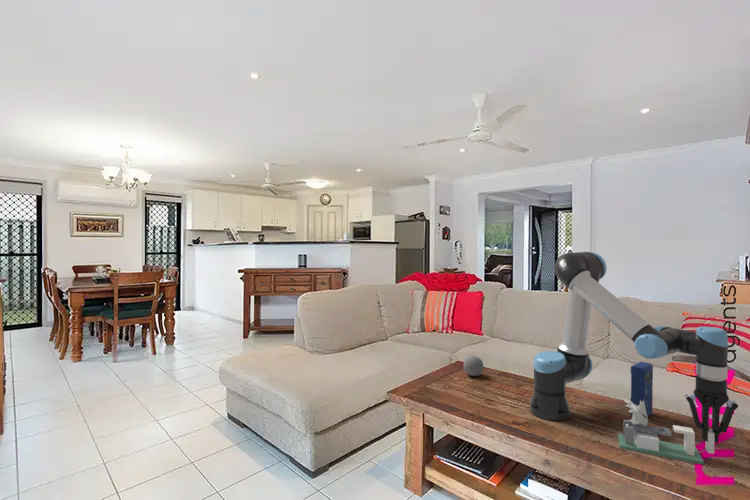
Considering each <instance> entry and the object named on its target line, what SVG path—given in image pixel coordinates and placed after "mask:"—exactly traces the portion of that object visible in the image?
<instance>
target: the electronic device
mask: <svg viewBox="0 0 750 500" xmlns="http://www.w3.org/2000/svg"><path fill="white" fill-rule="evenodd" d="M653 370H654V365H653V364H652V363H650V362H646V361H639V362H637V363H634V364H633V365H631V366H630V398H629V400H631V401H632V402H633V404H636V406H637V405H639V406H640V400H641V402H643V400H644V404H645V408H646V413H647V417H649V416H651V415H652V413H653V389H654V388H653V386H654V385H653V384H654V383H653V381H654V380H653V378H654V377H653V375H654V371H653ZM629 414H630V416H631V417H632V416H633V413H630V412H629ZM641 414H642V413H641ZM642 415H643V416H644V417H645V418H646V416H645V415H644V414H642ZM646 419H647V418H646Z"/></svg>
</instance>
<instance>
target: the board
mask: <svg viewBox="0 0 750 500" xmlns="http://www.w3.org/2000/svg"><path fill="white" fill-rule="evenodd" d="M629 420H630V419H623V429H622V430H623V433H619V432H618V433H617V439H618V443H619V444H618V445H619V448H620V449H623V450H629V451H633V452H638V453H643V454H648V455H653V456H658V457H663V458H668V459H674V460H678V461H683V462H689V463H693V464H697V465H698V464H699V465H704V464H705V461H704V458H702V455H701V454H700V451H699V450H698V448H697V447H695V455H694V456H693V455H688V454H686V452H685V450H684V444H678V443H672V442H668V441H662V440H660V439H659V436H658V434H655V433H648V432H642V431H635V430H634V427H629V426H625V422H630V423H632V421H629Z"/></svg>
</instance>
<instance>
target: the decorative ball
mask: <svg viewBox="0 0 750 500" xmlns="http://www.w3.org/2000/svg"><path fill="white" fill-rule="evenodd" d="M484 367H485V366H484V363H483V361H482V359H481V358H480V357H479V356H476V355H470V356H467V357H466V358H465V359H464V361H463V370H464V372H465V373H466V374H467V375H469V376H471V377H478V376H480V375H481V374H482V373H483V372H484V369H485V368H484Z"/></svg>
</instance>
